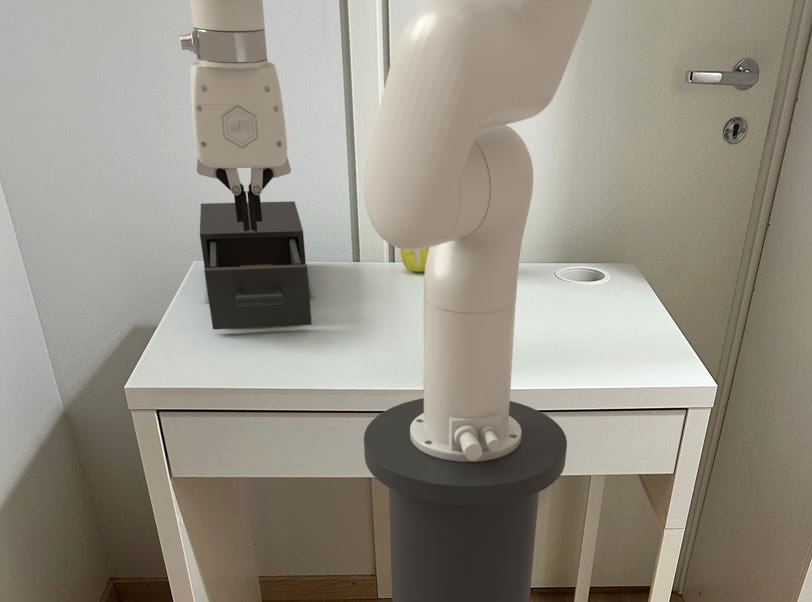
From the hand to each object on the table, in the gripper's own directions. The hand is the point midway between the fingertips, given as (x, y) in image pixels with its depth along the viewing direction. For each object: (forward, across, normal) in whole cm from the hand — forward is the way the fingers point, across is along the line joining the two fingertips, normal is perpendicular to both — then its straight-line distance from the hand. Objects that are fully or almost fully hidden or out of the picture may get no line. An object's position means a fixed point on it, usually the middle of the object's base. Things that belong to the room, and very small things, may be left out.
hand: (250, 227), depth 110 cm
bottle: (+16, +29, +33) cm, 47 cm away
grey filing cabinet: (+16, 0, +31) cm, 35 cm away
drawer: (+15, 0, +14) cm, 20 cm away
